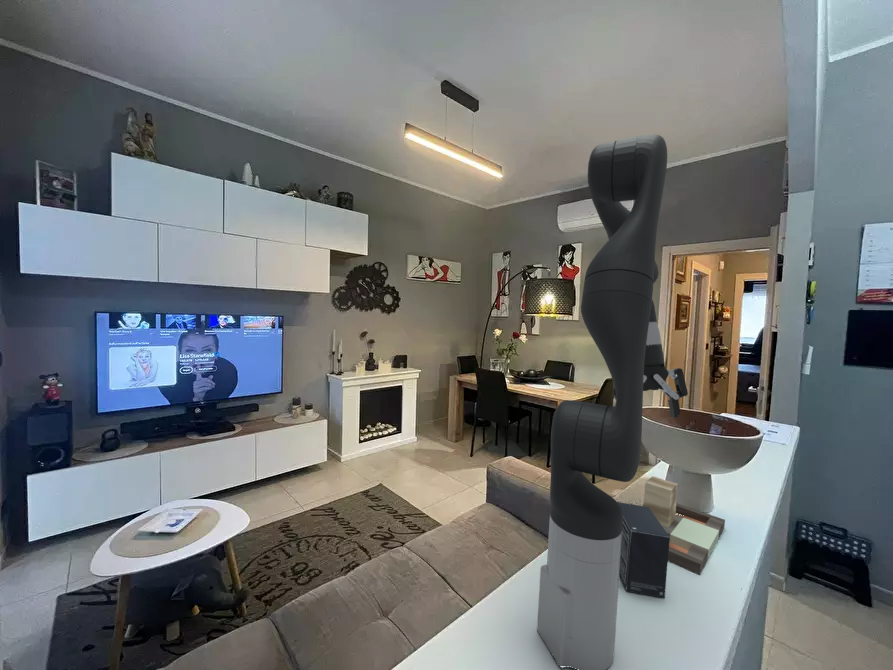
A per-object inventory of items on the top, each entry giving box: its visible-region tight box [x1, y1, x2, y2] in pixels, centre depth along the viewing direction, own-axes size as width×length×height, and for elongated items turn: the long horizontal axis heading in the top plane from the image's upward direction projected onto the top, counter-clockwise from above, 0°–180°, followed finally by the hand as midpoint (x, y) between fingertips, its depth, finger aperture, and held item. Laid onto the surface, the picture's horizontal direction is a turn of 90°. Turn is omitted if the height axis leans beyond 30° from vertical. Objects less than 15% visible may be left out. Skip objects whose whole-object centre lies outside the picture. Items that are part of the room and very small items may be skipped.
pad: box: [670, 518, 720, 559], centre depth 76 cm, size 10×6×2 cm, turn 134°
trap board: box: [662, 502, 726, 576], centre depth 79 cm, size 23×13×2 cm, turn 134°
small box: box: [617, 501, 670, 599], centre depth 65 cm, size 11×6×10 cm, turn 168°
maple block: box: [643, 476, 679, 528], centre depth 81 cm, size 5×5×8 cm
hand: (653, 418), depth 80 cm, fingers open, 8 cm apart
